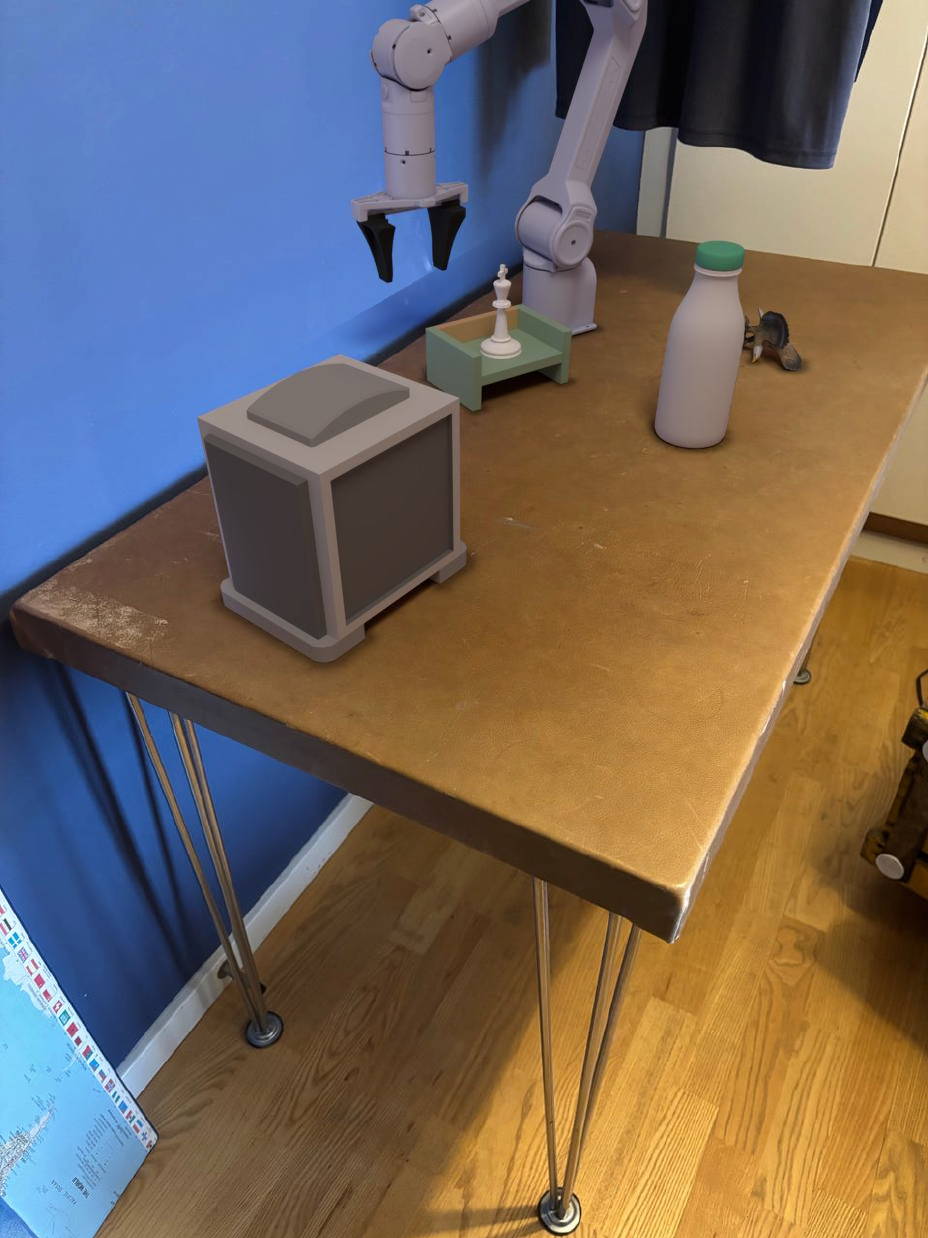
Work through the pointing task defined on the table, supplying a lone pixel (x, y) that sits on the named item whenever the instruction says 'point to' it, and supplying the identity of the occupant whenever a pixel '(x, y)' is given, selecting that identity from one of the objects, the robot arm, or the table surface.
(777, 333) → the brown toy animal
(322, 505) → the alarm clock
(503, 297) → the chess piece
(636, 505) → the table surface
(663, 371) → the milk bottle
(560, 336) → the shelf
